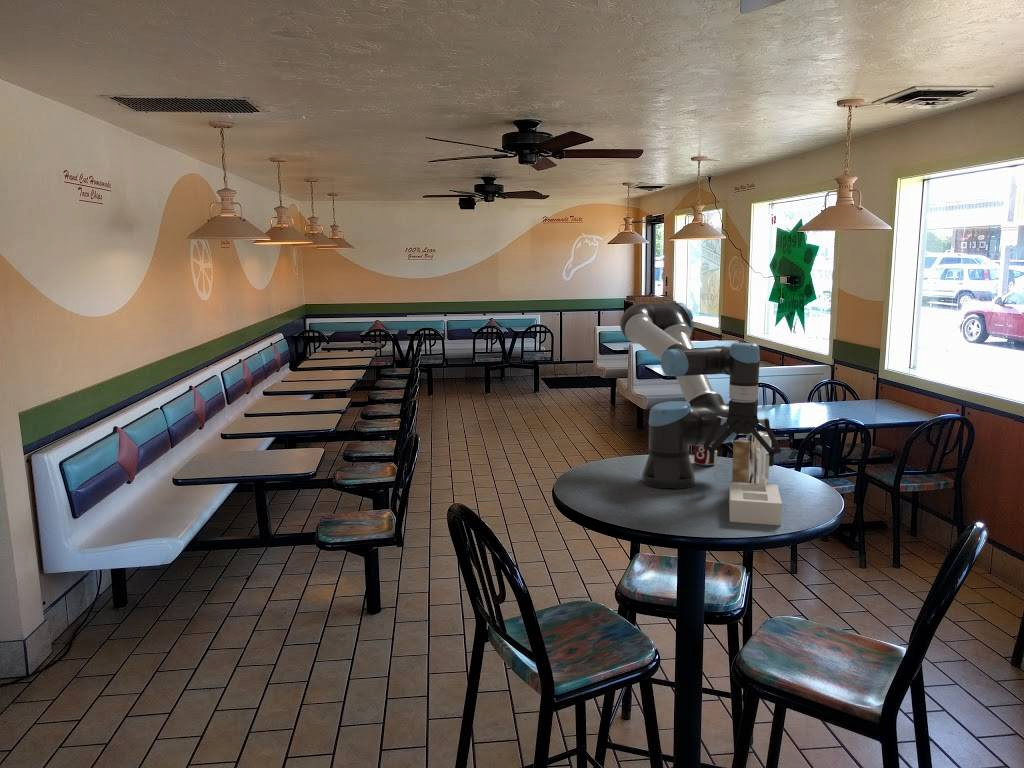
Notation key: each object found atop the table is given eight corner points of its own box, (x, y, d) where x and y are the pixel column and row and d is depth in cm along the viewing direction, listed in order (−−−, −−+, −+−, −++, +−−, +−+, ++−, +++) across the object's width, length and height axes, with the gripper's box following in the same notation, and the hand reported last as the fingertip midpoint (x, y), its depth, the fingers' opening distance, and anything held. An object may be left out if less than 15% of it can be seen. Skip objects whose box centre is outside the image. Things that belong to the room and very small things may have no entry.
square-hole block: (729, 521, 186) (730, 500, 186) (729, 501, 202) (729, 481, 202) (781, 525, 183) (782, 503, 182) (776, 505, 199) (777, 484, 198)
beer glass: (764, 480, 222) (766, 430, 220) (773, 487, 216) (775, 435, 213) (741, 480, 222) (742, 431, 220) (749, 487, 215) (751, 436, 213)
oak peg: (731, 496, 207) (733, 442, 205) (731, 491, 211) (733, 439, 209) (748, 497, 206) (750, 443, 204) (748, 492, 210) (749, 440, 208)
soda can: (692, 461, 245) (693, 425, 244) (713, 461, 245) (714, 425, 243) (696, 466, 239) (697, 429, 237) (718, 466, 239) (719, 429, 237)
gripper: (695, 400, 205) (693, 476, 208) (793, 404, 198) (789, 482, 201) (696, 396, 212) (694, 469, 215) (790, 399, 205) (787, 475, 208)
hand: (740, 476), depth 208 cm, fingers open, 13 cm apart
